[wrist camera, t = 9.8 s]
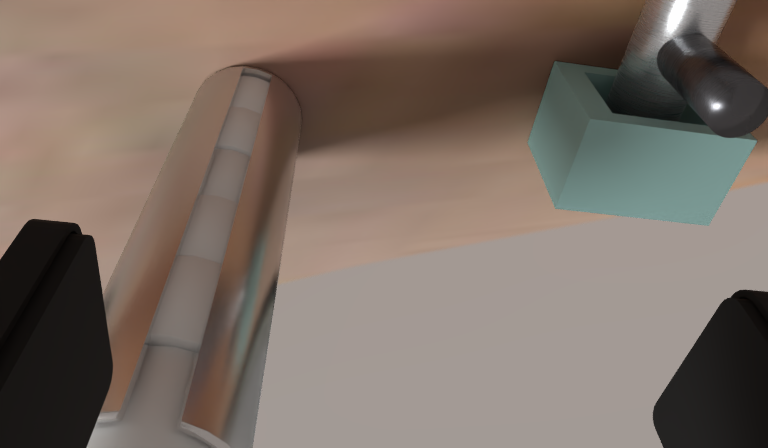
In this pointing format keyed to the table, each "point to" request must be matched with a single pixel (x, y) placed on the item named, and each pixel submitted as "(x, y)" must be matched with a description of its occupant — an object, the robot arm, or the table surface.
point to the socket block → (628, 154)
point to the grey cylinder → (203, 273)
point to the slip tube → (687, 70)
